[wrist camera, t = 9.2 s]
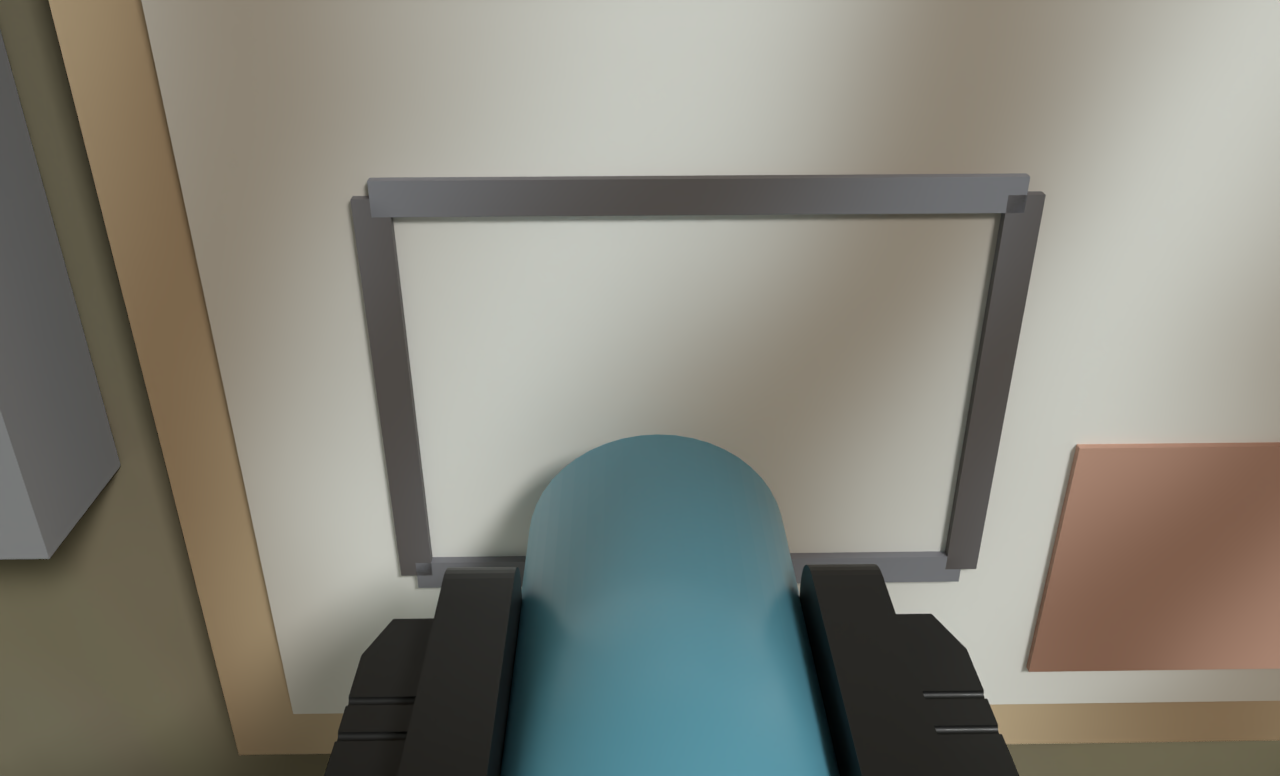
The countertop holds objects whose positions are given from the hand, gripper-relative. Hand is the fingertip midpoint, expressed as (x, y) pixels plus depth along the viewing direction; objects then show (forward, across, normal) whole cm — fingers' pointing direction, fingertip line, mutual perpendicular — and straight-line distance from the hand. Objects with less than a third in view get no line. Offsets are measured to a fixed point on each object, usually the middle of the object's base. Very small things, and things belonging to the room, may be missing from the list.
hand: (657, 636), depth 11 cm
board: (+4, -2, -2) cm, 4 cm away
